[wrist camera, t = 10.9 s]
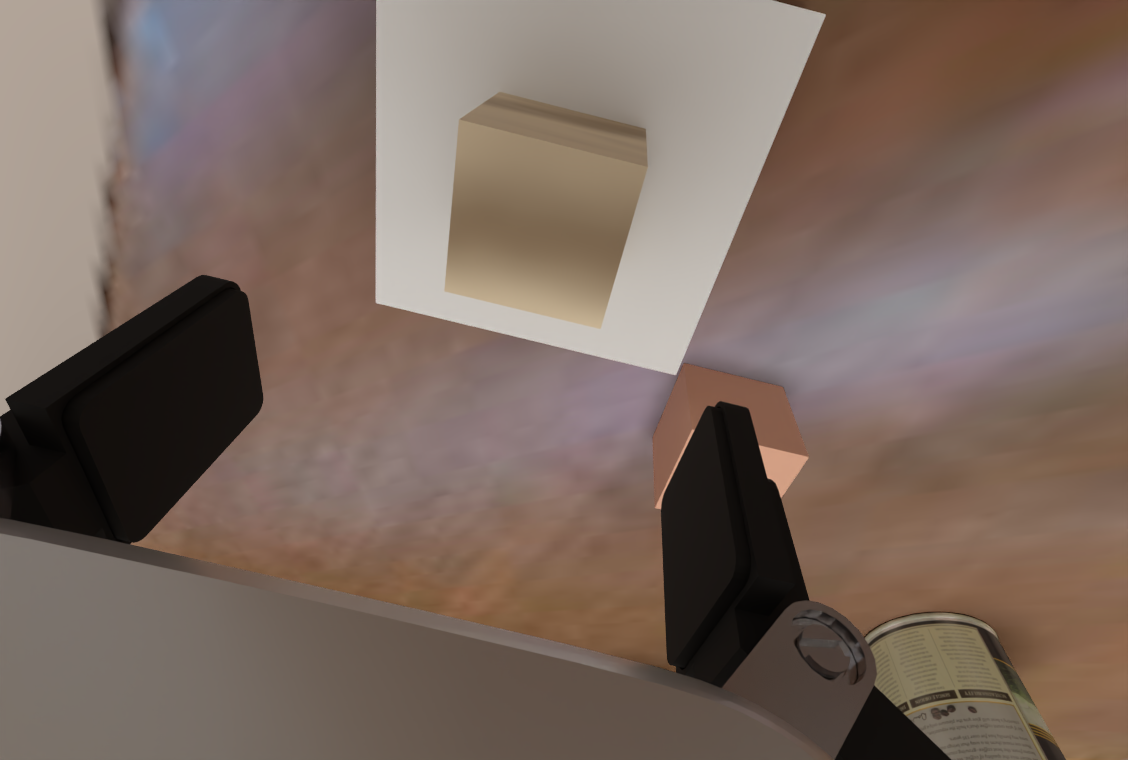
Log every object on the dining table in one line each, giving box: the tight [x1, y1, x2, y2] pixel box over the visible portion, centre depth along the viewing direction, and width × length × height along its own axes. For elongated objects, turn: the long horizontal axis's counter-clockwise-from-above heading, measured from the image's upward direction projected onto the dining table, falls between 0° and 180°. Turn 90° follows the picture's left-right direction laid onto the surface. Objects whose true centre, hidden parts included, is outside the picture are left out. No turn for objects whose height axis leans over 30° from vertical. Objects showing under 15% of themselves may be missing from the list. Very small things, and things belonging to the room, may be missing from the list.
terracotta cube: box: [653, 363, 809, 509], centre depth 31 cm, size 6×6×6 cm
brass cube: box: [444, 92, 648, 329], centre depth 21 cm, size 6×6×6 cm
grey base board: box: [376, 0, 826, 375], centre depth 24 cm, size 16×16×3 cm
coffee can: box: [865, 612, 1066, 760], centre depth 39 cm, size 10×10×14 cm
